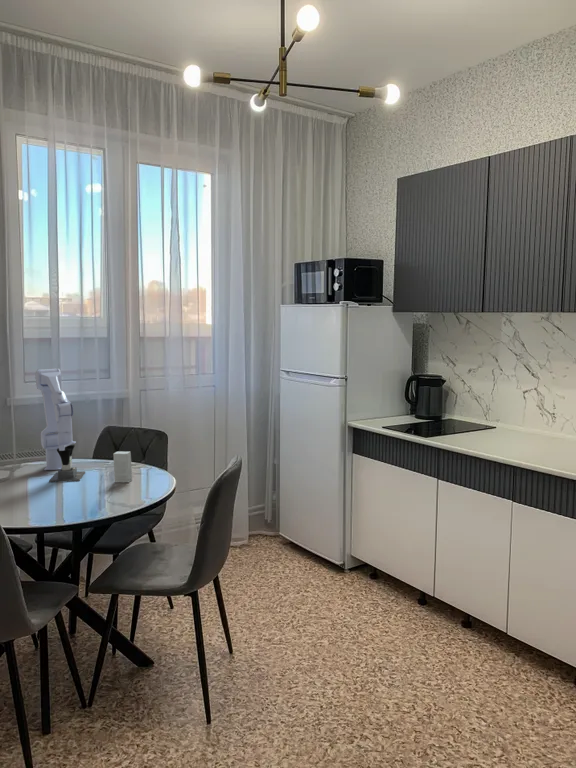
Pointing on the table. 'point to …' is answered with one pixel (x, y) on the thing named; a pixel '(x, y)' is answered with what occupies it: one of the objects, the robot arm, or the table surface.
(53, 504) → the table surface
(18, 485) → the table surface
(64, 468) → the column
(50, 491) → the table surface
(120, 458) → the skincare box
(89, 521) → the table surface
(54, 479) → the stand base
